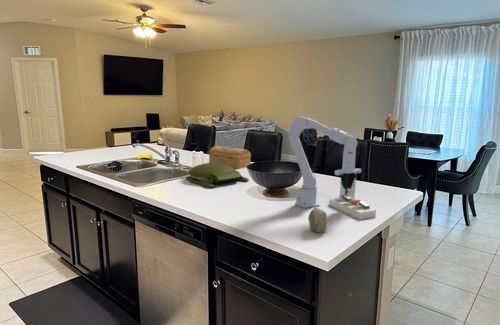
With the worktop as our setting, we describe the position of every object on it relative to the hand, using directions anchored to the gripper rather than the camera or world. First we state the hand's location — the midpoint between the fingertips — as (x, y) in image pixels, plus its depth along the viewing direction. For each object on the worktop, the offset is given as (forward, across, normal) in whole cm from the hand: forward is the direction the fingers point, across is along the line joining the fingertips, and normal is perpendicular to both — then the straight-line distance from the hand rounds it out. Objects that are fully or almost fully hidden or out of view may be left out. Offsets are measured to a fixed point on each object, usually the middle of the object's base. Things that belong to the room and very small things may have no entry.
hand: (347, 188), depth 167 cm
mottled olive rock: (+10, -30, -19) cm, 37 cm away
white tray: (+9, -1, -5) cm, 11 cm away
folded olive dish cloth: (+10, -41, +77) cm, 88 cm away
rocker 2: (+5, +1, -11) cm, 12 cm away
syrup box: (+10, +9, +10) cm, 17 cm away
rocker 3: (+5, +1, +1) cm, 5 cm away
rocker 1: (+5, +1, -5) cm, 7 cm away
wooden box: (+10, -15, +117) cm, 118 cm away
